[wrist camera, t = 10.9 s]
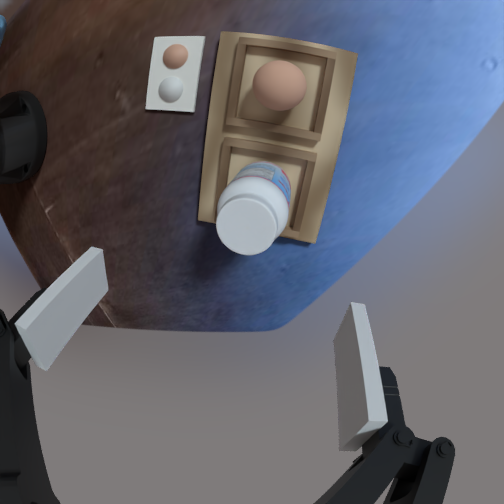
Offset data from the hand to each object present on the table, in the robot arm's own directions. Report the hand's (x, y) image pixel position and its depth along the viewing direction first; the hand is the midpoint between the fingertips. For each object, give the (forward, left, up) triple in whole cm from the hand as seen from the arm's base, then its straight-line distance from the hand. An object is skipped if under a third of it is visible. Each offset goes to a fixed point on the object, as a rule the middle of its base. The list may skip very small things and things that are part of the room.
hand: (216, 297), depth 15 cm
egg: (0, +11, -20) cm, 23 cm away
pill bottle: (0, 0, -20) cm, 20 cm away
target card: (-12, +11, -21) cm, 27 cm away
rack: (0, +5, -21) cm, 22 cm away
